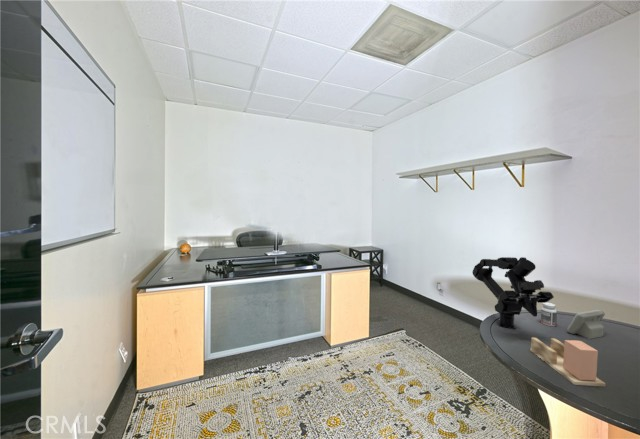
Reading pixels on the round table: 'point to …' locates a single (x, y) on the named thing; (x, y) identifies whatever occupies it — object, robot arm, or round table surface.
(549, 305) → the pill bottle
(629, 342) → the round table surface
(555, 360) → the chute
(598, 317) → the digital clock
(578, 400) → the round table surface
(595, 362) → the block
